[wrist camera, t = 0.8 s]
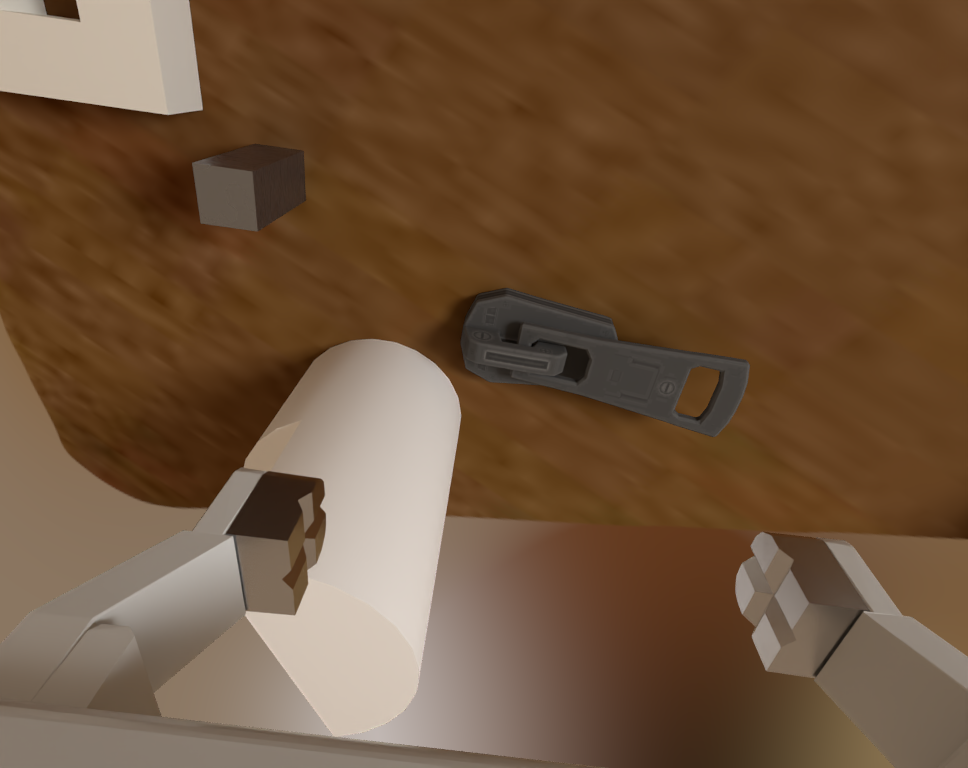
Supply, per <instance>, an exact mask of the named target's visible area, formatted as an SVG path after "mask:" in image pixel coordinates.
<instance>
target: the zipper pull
mask: <svg viewBox="0 0 968 768" xmlns="http://www.w3.org/2000/svg"><path fill="white" fill-rule="evenodd" d="M461 347H462V352H463V357H464V362H465V367H466V369H468V370H469V371H471V372H473V373H475V374H476V375H478V376H480V377H482V378H483V379H485V380H487V381H489V382H498V383H516V384H531V385H543V386H547V387H551V388H555V389H559V390H563V391H566V392H570V393H574V394H578V395H582V396H585V397H588V398H591V399H594V400H598V401H601V402H604V403H607V404H610V405H614V406H617V407H620V408H623V409H626V410H629V411H633V412H636V413H639V414H642V415H645V416H649V417H652V418H655V419H658V420H661V421H664V422H667V423H670V424H673V425H676V426H679V427H682V428H686V429H689V430H692V431H695V432H698V433H702V434H705V435H708V436H711V437H715V436H717V435H718V434H719V433H720V432H721V430H722V429H723V428H724V427H725V426H726V425H727V424H728V423H729V421H730V420H731V418H732V416H733V415H734V413H735V412H736V410H737V408H738V406H739V404H740V402H741V399H742V397H743V395H744V392H745V389H746V386H747V383H748V375H749V367H750V365H749V363H748V362H747V361H746V360H743V359H737V358H730V357H724V356H718V355H711V354H705V353H697V352H690V351H683V350H677V349H670V348H664V347H657V346H651V345H644V344H638V343H631V342H625V341H618V338H617V335H616V331H615V328H614V325H613V322H612V320H611V318H609V317H606V316H603V315H600V314H596V313H592V312H589V311H585V310H582V309H578V308H575V307H571V306H568V305H564V304H560V303H557V302H553V301H550V300H546V299H543V298H539V297H536V296H532V295H529V294H526V293H523V292H519V291H516V290H513V289H509V288H504V289H499V290H495V291H490V292H485V293H480V294H478V295H477V297H476V298H475V300H474V302H473V304H472V306H471V307H470V309H469V311H468V313H467V314H466V316H465V321H464V325H463V331H462V337H461ZM699 366H702V367H706V368H710V369H715V370H719V371H720V375H719V382H718V384H717V386H716V388H715V391H714V393H713V395H712V397H711V400H710V402H709V404H708V406H707V408H706V409H705V410H704V411H703V413H702V414H701V415H700V416H699V417H692V416H688V415H684V414H680V413H677V412H676V410H675V407H676V404H677V402H678V399H679V397H680V394H681V392H682V390H683V387H684V385H685V382H686V380H687V377H688V375H689V373H690V370H691V369H692V368H695V367H699Z"/></svg>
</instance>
